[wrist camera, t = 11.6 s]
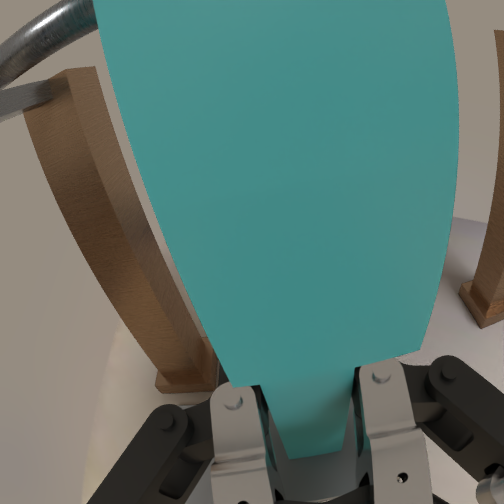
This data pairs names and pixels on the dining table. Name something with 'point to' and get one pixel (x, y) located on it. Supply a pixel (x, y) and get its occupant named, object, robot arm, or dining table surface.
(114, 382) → the dining table surface
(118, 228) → the bent wire rig
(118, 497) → the robot arm
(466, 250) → the dining table surface
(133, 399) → the dining table surface
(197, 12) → the turquoise post on base
